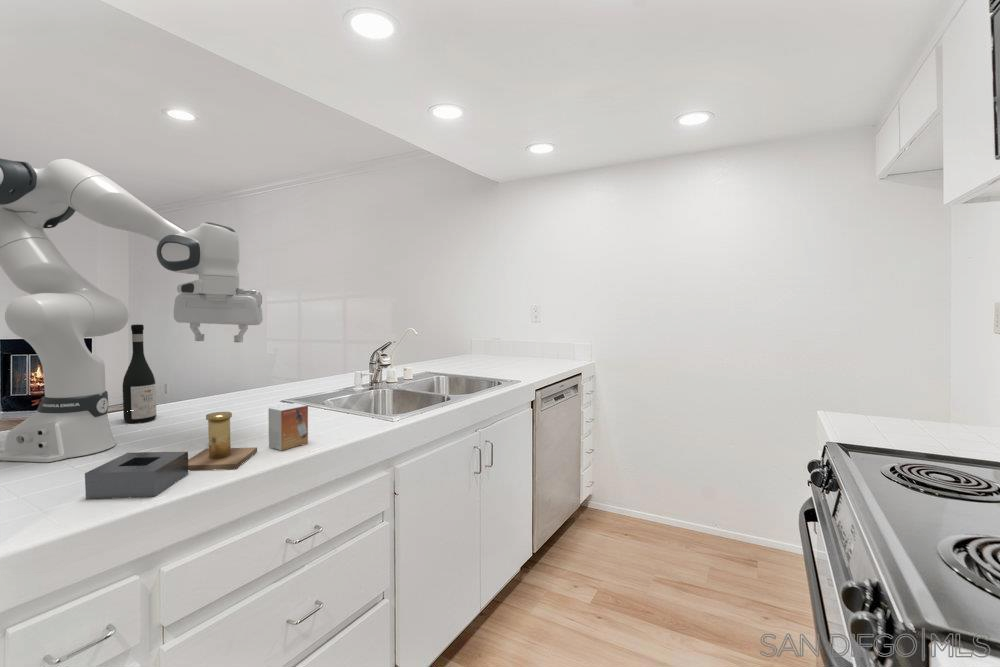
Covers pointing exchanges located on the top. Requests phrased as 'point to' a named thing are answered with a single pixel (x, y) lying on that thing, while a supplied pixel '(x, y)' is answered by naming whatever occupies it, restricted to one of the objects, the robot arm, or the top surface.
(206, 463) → the board
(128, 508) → the top surface
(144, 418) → the wine bottle
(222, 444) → the gold cylinder
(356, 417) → the top surface
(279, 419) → the small box
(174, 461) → the block
